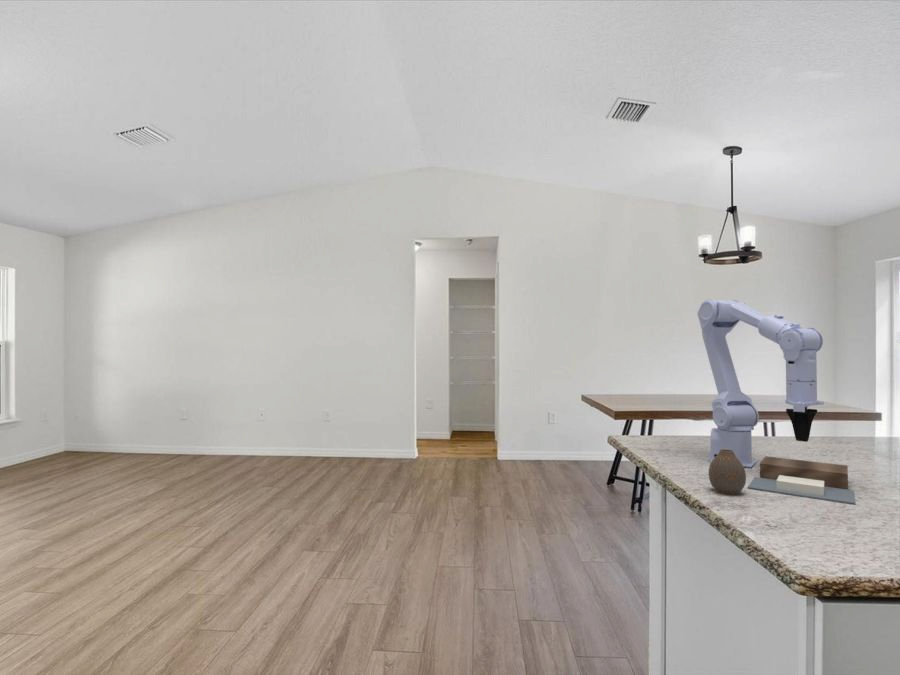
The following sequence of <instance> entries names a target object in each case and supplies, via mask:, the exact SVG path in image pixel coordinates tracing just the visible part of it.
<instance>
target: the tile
mask: <svg viewBox="0 0 900 675" xmlns="http://www.w3.org/2000/svg"><path fill="white" fill-rule="evenodd" d="M777 489H779V490H786V491H793V492H800V493H807V494H813V495H820V496H824V490H825V488H824V481H821V480H813V479H806V478H798V477H790V476H783V475H779V477H778V479H777Z"/></svg>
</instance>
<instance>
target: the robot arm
mask: <svg viewBox="0 0 900 675" xmlns="http://www.w3.org/2000/svg"><path fill="white" fill-rule="evenodd" d="M696 314H697V317H698V321H699V324H700V328H701V335H702V340H703V343H704V346H705V350H706V353H707V358H708V361H709V365H710V369H711V371H712V375H713V381H714V384H715V387H716V390H717V396H716V397H715V398H714V399H713V400H712V401H711V406H712V420H713V422H714V424H715V426H716V427H713V428H711V431H710V437H709V440H710V441H709V442H710V443H709V445H710V449H709V450H710V461H709V463H711V462H712V460H713V459H714V458H715V457H716V456H717V455H718V453H719V451H720V450H721V449H728V450H732V451H733V452H734V454H735V456H736V457H737V458H738V459H739V461H740V462H741V463H742V465H743V467H744V468H752V467H753V466H754V465H755V464H756V460H755V459H754V460H753V454H752V453H753V450H752V449H753V446H752V441H753V440H752V438H753V437H752V431H754V430H755V429H754V428H755V427H756V425H758V423H759V420H760V415H759V412H758V409H757V408H756V407H755V405H754V404H753V402H752V398H751V397H750V396H748V395H747V394H746V393H744V391H742V390H741V387H740V383H739V379H738V376H737V372H736V369H735V365H734V362H733V359H732V356H731V353H730V348H729V345H728V342H727V338H726V336H727V335H728V333H731V332H732V330H734V328H735V327H736V326H737V325H738V323H739V322H743V323H745V324H748V325H750V326H752V327H755V328H756V329H757V330H758V333H759V334H760V336H762V337H764V338H765V339H767V340H770V341H771V342H772V343H773V342H774V343H776V344H777V345H778V346H779V348H780V349H781V351H782V353H783V359H784V360H785V385H786V386H785V390H786V393H785V395H786V396H785V397H786V399H785V404H787V405H790V406H793V408H786V409H785V412H786V414H787V416H788V417H789V420H790V422H791V425H792V429H793V434H794V437H795V440H796V442H806V443H807V442H808V441H809V439H810V435H811V430H812V426H813V425H812V424H813V421H814V418H815V416H816V415H817V414H818V409H814V408H808V407H812V406H818V405H821V406H823V405H824V403H825V401H823V400H818V376H817V375H818V373H817V372H818V370H817V364H818V363H817V361H818V360H817V352H819V351H820V349H821V348H823V344H824V339H823V336H822V334H821V332H820V331H819V330H817V329H815V328H814V327H806V328H803V327H801V324H800V323H798V322H791V321H789V320H786V319H784V317H785V316H784V315H783V314H779V313H777V314H769V315H765V314H763V313H761V312H759V311H758V310H756V309H753V308H752V307H750V306H748V305H746V303H745V302H742V301H739V300H736V299H732V300H722V299H721V300H720V299H719V300H718V299H705V300H704V301H702V303H701V304H700V307H699V309H698V310H697V313H696Z"/></svg>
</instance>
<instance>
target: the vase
mask: <svg viewBox="0 0 900 675" xmlns="http://www.w3.org/2000/svg"><path fill="white" fill-rule="evenodd" d="M708 479H709V481H710V485H711V486H712V488H713V489H714V490H715V491H716V492H718V493H720V494H724V495H738V494H740V493H741V492H742V491H743V489H744V488H745V485H746V481H747V474H746V469H745V467H743V465H742V463H741V462H740V461H739V459H738V458H737V457H736V456H735V454H734V452H733V451H732V450H728V449H721V450H720V451H719V453H718V455H717V456H716V457H715V458H714V459H713V460H712V462H710V464H709V468H708Z"/></svg>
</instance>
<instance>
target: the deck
mask: <svg viewBox="0 0 900 675" xmlns="http://www.w3.org/2000/svg"><path fill="white" fill-rule="evenodd" d="M848 468H849V466H848V465H845V464H835V463H827V462H819V461H810V460H803V459H802V460H801V459H792V458H784V457H778V456H777V457H775V456H767V455H766V456H764V457H763V458H762V459H761V461H760V463H759V478H766V479H774V480H777V479H778V477H779V475H783V476H790V477H798V478H806V479H813V480H821V481H824V486H825V487H832V488H839V489H847V490H849V469H848Z"/></svg>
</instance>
